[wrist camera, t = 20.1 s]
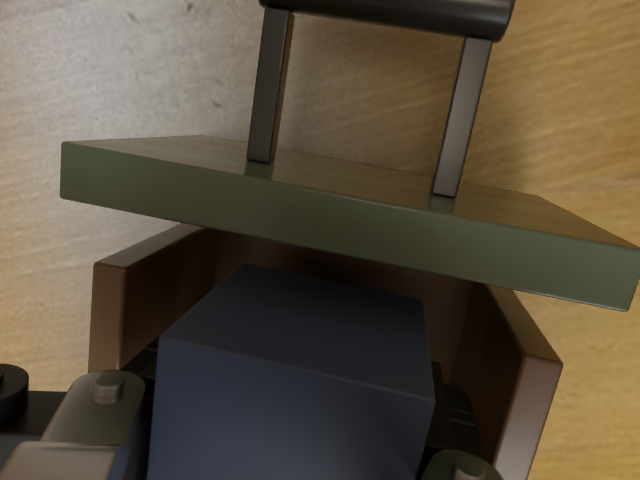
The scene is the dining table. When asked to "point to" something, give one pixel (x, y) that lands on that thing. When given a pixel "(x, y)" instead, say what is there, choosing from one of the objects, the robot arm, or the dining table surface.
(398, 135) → the dining table surface
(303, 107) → the dining table surface
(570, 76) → the dining table surface
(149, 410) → the robot arm
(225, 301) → the block
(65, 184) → the drawer
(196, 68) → the dining table surface
